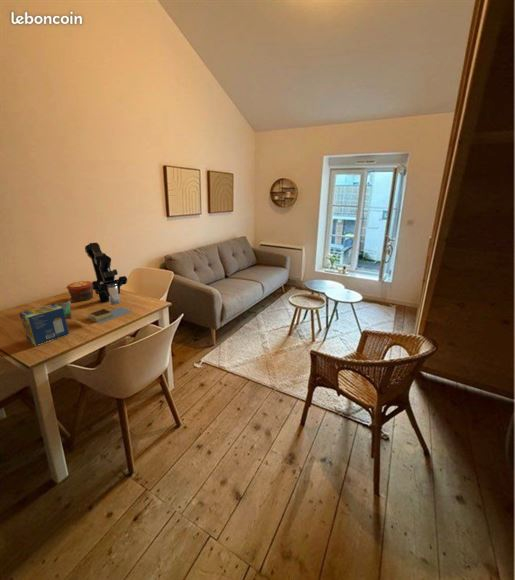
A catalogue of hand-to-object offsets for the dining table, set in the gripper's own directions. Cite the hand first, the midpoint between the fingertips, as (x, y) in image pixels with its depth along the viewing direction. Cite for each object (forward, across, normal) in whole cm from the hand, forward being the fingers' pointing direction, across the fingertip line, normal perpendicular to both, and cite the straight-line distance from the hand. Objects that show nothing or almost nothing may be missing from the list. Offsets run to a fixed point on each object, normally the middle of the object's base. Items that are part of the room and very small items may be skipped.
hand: (114, 294), depth 168 cm
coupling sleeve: (+3, 0, +5) cm, 6 cm away
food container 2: (-25, -11, +45) cm, 52 cm away
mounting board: (+9, -4, +10) cm, 14 cm away
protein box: (+15, -35, +5) cm, 38 cm away
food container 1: (-1, -26, +21) cm, 33 cm away
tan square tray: (+8, -9, +9) cm, 15 cm away
